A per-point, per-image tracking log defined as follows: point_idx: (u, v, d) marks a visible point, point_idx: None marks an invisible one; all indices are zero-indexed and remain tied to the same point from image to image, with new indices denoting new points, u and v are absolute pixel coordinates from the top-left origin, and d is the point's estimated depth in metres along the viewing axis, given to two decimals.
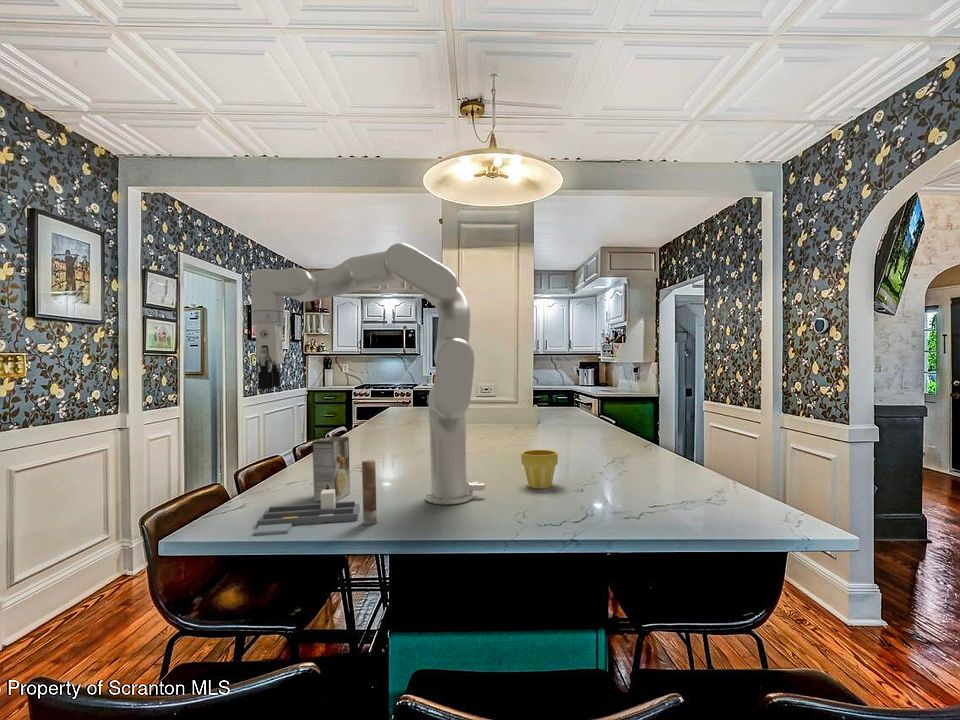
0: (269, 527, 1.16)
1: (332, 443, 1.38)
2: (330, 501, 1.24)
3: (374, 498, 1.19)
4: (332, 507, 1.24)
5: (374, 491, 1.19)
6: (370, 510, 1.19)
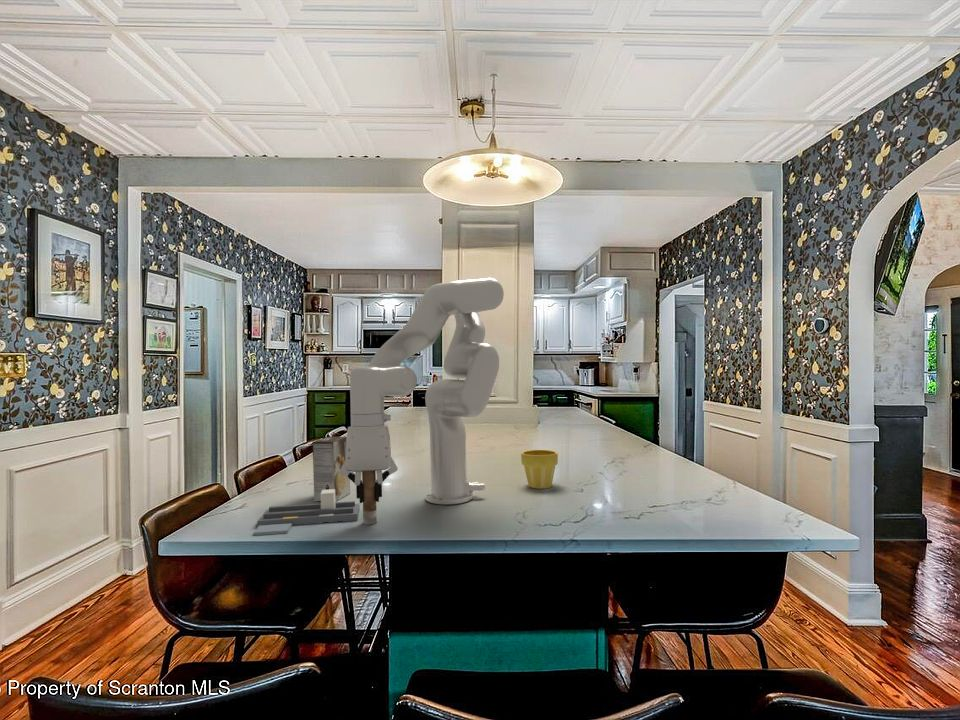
0: (269, 527, 1.16)
1: (332, 443, 1.38)
2: (330, 501, 1.24)
3: (374, 498, 1.19)
4: (332, 507, 1.24)
5: (374, 491, 1.19)
6: (370, 510, 1.19)
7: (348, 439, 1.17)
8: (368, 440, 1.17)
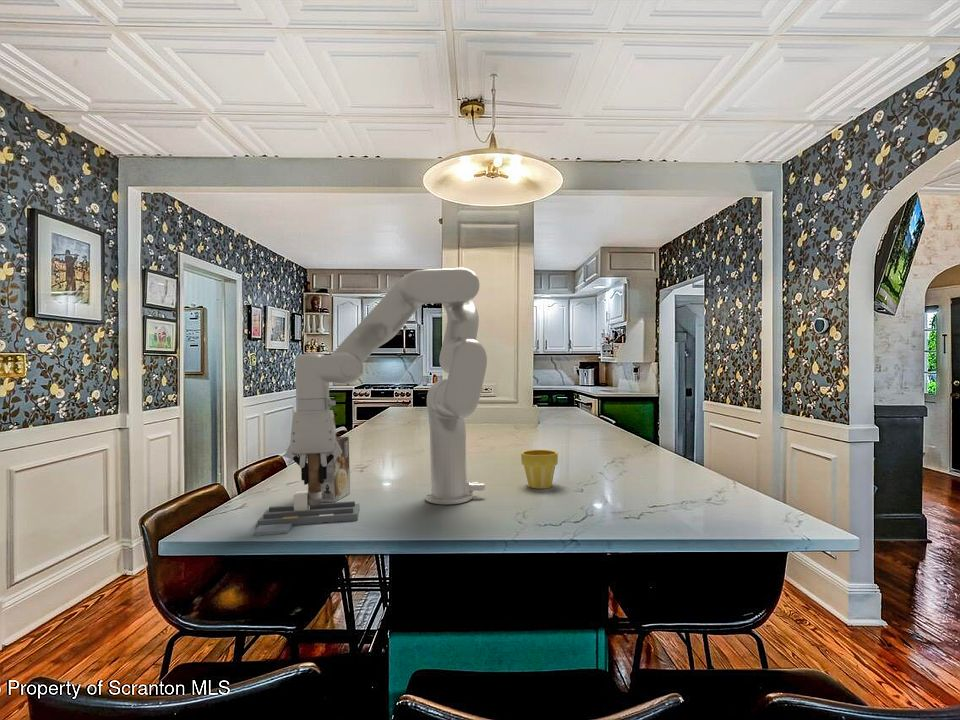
0: (269, 527, 1.16)
1: None
2: (304, 503, 1.23)
3: (319, 480, 1.24)
4: (305, 509, 1.23)
5: (319, 473, 1.24)
6: (314, 491, 1.23)
7: (293, 423, 1.22)
8: (312, 424, 1.22)
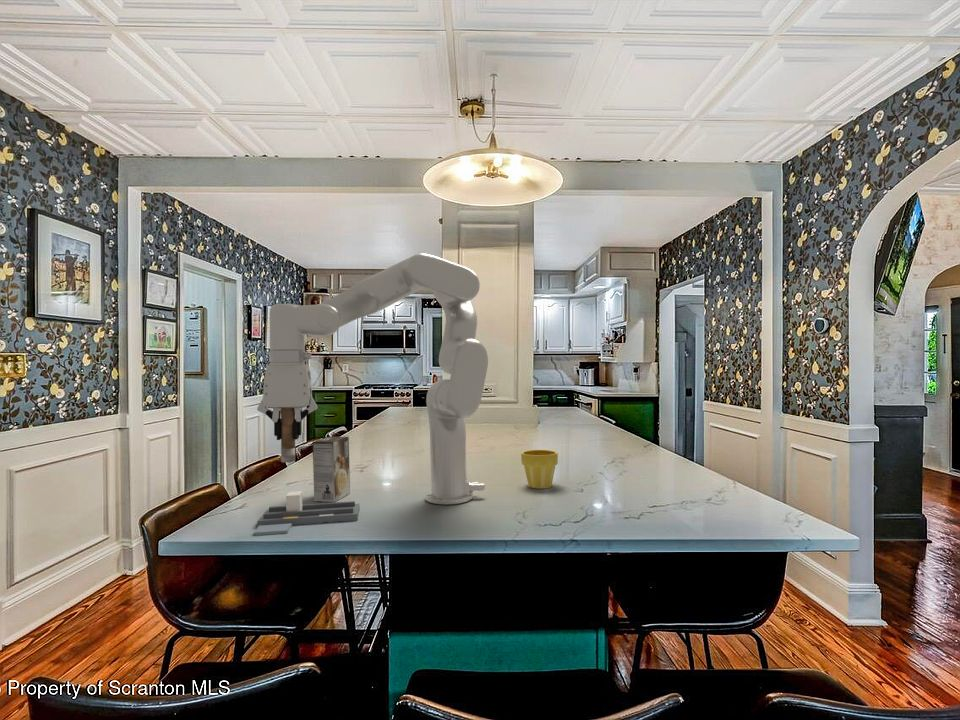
0: (269, 527, 1.16)
1: (332, 443, 1.38)
2: (296, 503, 1.22)
3: (292, 436, 1.19)
4: (298, 509, 1.22)
5: (292, 429, 1.19)
6: (288, 447, 1.18)
7: (266, 375, 1.17)
8: (286, 376, 1.17)
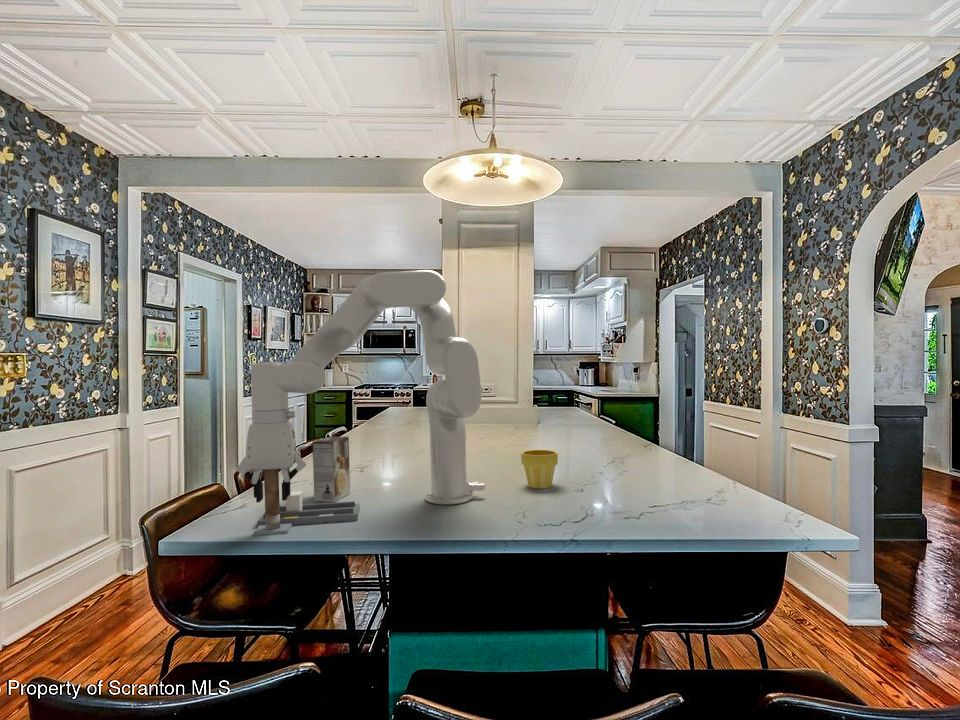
0: None
1: (332, 443, 1.38)
2: (296, 503, 1.22)
3: (276, 502, 1.15)
4: (298, 509, 1.22)
5: (276, 495, 1.15)
6: (272, 515, 1.15)
7: (248, 437, 1.13)
8: (269, 438, 1.13)
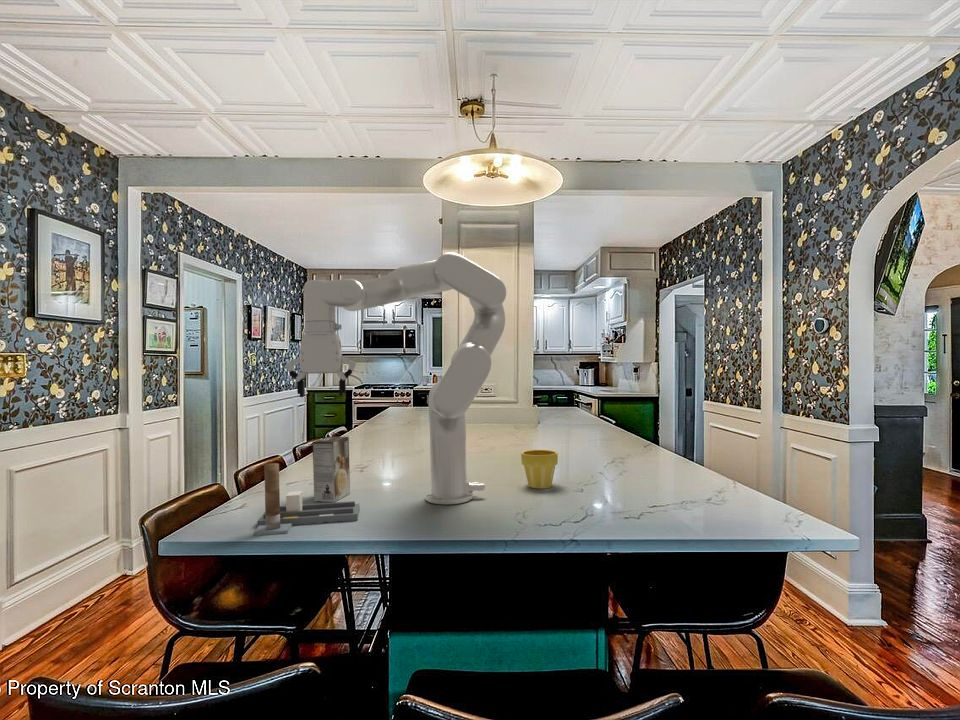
0: None
1: (332, 443, 1.38)
2: (296, 503, 1.22)
3: (277, 502, 1.15)
4: (298, 509, 1.22)
5: (277, 495, 1.15)
6: (272, 514, 1.15)
7: (302, 344, 1.31)
8: (320, 345, 1.31)
